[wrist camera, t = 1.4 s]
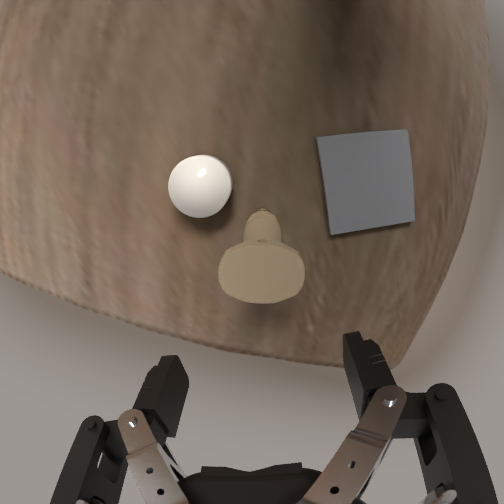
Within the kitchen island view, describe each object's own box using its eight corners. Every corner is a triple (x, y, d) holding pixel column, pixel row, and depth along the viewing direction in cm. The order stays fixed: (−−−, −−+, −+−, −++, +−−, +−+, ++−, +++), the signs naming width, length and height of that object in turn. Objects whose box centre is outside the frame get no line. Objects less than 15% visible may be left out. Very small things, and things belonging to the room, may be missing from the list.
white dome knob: (171, 162, 33) (161, 164, 30) (226, 148, 32) (222, 149, 29) (184, 215, 35) (177, 223, 32) (238, 204, 35) (236, 211, 31)
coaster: (315, 137, 31) (316, 137, 30) (403, 129, 30) (407, 129, 29) (329, 232, 35) (330, 235, 34) (411, 218, 34) (414, 220, 33)
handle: (236, 201, 34) (216, 244, 20) (289, 201, 34) (307, 245, 20) (236, 238, 36) (220, 302, 22) (287, 239, 36) (302, 303, 22)
